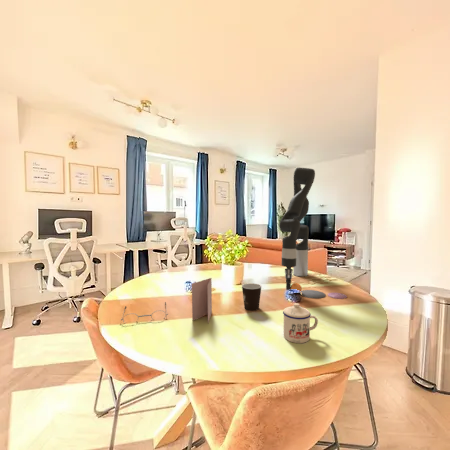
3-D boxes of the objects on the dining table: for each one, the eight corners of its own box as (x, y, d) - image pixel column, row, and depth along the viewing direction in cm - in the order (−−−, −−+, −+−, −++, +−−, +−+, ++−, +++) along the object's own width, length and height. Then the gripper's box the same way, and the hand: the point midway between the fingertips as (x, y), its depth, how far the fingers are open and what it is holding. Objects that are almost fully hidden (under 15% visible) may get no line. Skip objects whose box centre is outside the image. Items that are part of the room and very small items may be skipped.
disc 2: (326, 292, 136) (326, 292, 136) (344, 293, 134) (344, 293, 134) (329, 298, 128) (329, 297, 128) (348, 299, 125) (348, 299, 125)
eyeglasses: (120, 325, 101) (120, 315, 100) (125, 309, 119) (125, 300, 119) (168, 319, 105) (167, 310, 105) (165, 304, 124) (165, 296, 123)
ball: (291, 280, 138) (302, 281, 136) (290, 290, 139) (301, 291, 137) (290, 285, 132) (301, 286, 131) (289, 295, 134) (301, 296, 132)
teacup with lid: (287, 344, 84) (288, 309, 83) (279, 331, 93) (279, 299, 92) (323, 342, 85) (323, 308, 84) (311, 330, 94) (312, 298, 93)
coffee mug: (260, 312, 111) (260, 289, 110) (240, 311, 112) (240, 288, 112) (262, 302, 122) (262, 282, 121) (244, 301, 124) (244, 281, 123)
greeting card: (210, 311, 112) (209, 277, 111) (223, 315, 107) (223, 280, 107) (190, 320, 103) (190, 283, 102) (204, 325, 99) (203, 286, 98)
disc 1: (298, 289, 142) (298, 289, 142) (323, 291, 139) (323, 290, 139) (299, 297, 129) (299, 297, 129) (327, 299, 126) (327, 298, 126)
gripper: (296, 259, 128) (296, 293, 129) (296, 255, 141) (295, 286, 142) (281, 258, 130) (280, 292, 130) (281, 254, 143) (281, 285, 143)
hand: (288, 289), depth 136 cm, fingers closed
